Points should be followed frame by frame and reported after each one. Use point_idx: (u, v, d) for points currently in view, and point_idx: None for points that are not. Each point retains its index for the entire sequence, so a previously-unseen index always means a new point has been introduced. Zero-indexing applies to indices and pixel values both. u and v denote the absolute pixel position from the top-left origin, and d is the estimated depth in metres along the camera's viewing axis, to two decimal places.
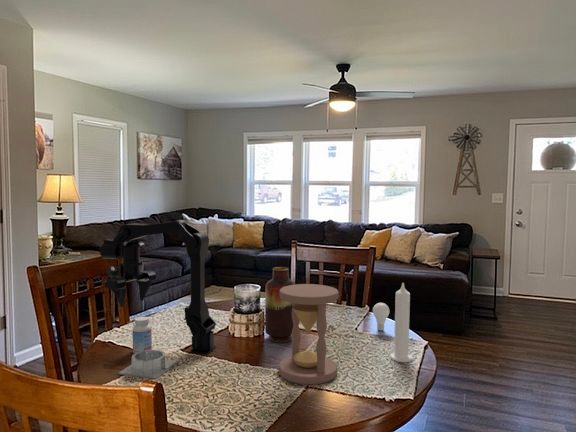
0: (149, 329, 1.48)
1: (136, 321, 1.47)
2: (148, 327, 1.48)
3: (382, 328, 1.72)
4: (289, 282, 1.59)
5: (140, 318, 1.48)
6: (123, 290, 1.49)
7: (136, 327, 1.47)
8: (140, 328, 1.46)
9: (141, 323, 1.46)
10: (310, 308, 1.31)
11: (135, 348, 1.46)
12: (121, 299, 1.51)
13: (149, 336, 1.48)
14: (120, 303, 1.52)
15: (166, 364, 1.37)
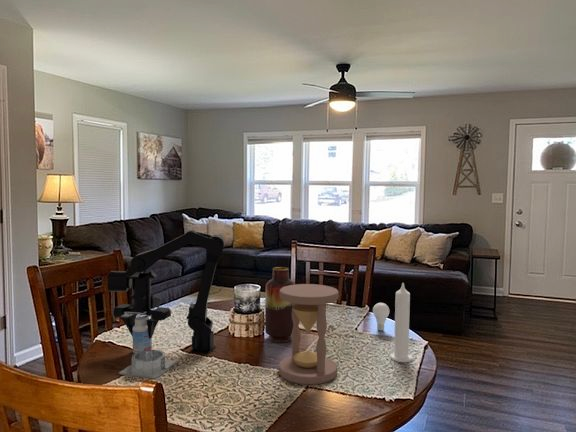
0: None
1: (136, 321, 1.47)
2: None
3: (382, 328, 1.72)
4: (289, 282, 1.59)
5: (140, 318, 1.48)
6: (123, 320, 1.47)
7: (136, 327, 1.47)
8: (140, 328, 1.46)
9: (141, 323, 1.46)
10: (310, 308, 1.31)
11: (135, 348, 1.46)
12: None
13: None
14: None
15: (166, 364, 1.37)
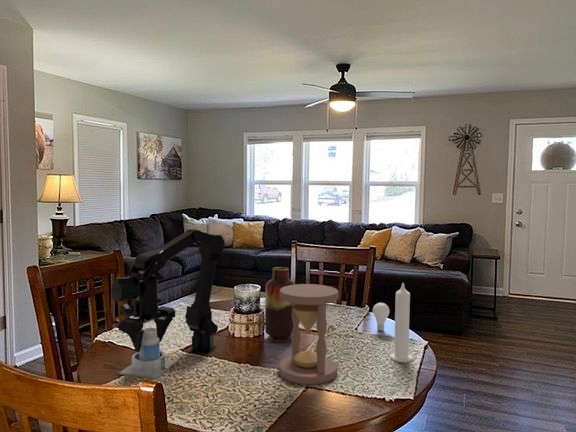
0: None
1: (153, 333, 1.33)
2: None
3: (382, 328, 1.72)
4: (289, 282, 1.59)
5: (149, 330, 1.34)
6: (140, 333, 1.27)
7: (153, 339, 1.33)
8: (157, 339, 1.34)
9: (156, 333, 1.35)
10: (310, 308, 1.31)
11: None
12: (137, 343, 1.29)
13: None
14: (136, 348, 1.30)
15: (166, 364, 1.37)
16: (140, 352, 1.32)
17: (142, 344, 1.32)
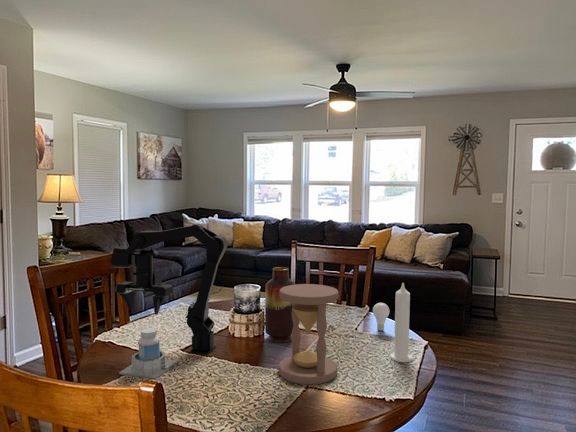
0: None
1: (153, 333, 1.33)
2: None
3: (382, 328, 1.72)
4: (289, 282, 1.59)
5: (149, 330, 1.34)
6: (123, 296, 1.50)
7: (153, 339, 1.33)
8: (157, 339, 1.34)
9: (156, 333, 1.35)
10: (310, 308, 1.31)
11: None
12: None
13: None
14: None
15: (166, 364, 1.37)
16: (140, 352, 1.32)
17: (142, 344, 1.32)
